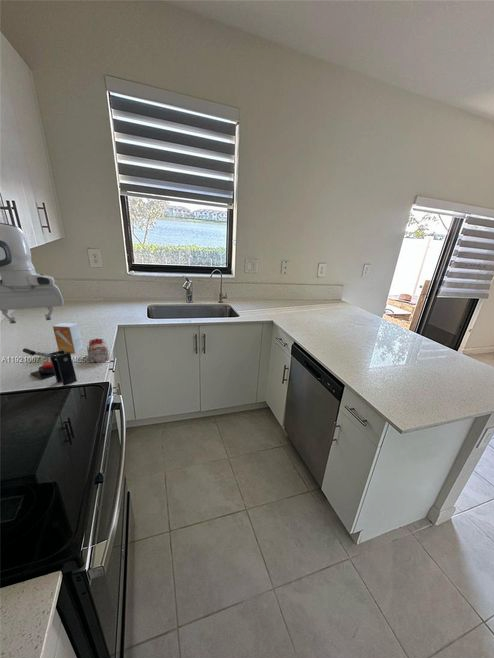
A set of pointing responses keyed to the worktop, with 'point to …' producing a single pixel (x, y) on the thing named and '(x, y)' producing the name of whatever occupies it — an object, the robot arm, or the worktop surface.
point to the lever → (39, 353)
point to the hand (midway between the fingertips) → (31, 321)
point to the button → (47, 365)
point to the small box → (68, 337)
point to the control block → (43, 373)
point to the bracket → (63, 368)
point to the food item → (97, 350)
